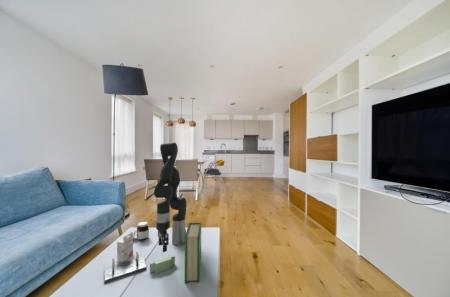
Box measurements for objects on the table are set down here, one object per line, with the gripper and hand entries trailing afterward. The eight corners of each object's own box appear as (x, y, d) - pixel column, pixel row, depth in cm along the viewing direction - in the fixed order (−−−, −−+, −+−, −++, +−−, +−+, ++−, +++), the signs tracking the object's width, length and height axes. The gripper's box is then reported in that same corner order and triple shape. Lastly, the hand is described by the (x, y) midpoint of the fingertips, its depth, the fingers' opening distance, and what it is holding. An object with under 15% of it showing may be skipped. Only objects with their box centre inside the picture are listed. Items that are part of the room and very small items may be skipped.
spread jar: (150, 239, 140) (150, 223, 140) (134, 244, 132) (134, 228, 133) (144, 233, 149) (144, 219, 149) (129, 238, 141) (129, 223, 141)
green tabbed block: (173, 262, 111) (173, 253, 111) (175, 266, 107) (175, 257, 107) (149, 270, 103) (149, 261, 103) (150, 274, 99) (150, 265, 100)
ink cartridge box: (126, 253, 120) (126, 230, 121) (133, 254, 119) (133, 231, 120) (116, 260, 112) (116, 236, 112) (123, 261, 111) (123, 237, 111)
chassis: (142, 259, 114) (142, 246, 114) (146, 269, 104) (146, 256, 104) (104, 270, 103) (104, 257, 103) (104, 283, 93) (104, 268, 93)
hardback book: (199, 282, 94) (199, 235, 95) (184, 283, 94) (185, 236, 94) (200, 261, 112) (201, 222, 112) (188, 262, 111) (189, 222, 112)
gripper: (173, 222, 102) (173, 251, 102) (166, 215, 114) (165, 241, 113) (159, 225, 98) (159, 256, 97) (153, 217, 110) (153, 244, 109)
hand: (162, 248), depth 105 cm, fingers open, 8 cm apart
